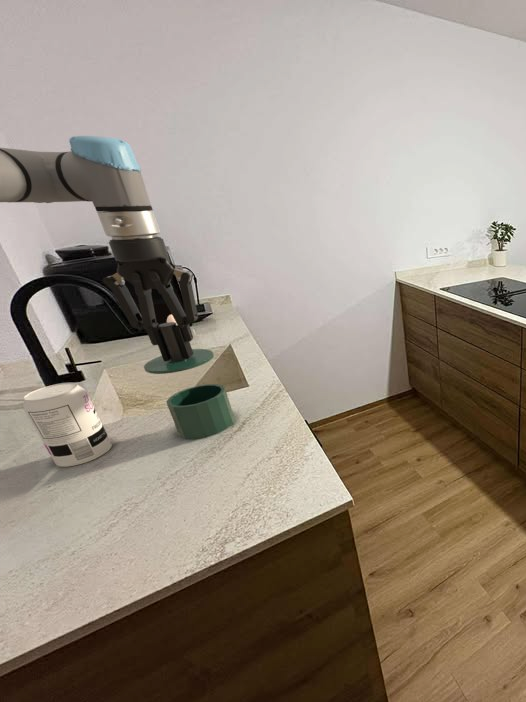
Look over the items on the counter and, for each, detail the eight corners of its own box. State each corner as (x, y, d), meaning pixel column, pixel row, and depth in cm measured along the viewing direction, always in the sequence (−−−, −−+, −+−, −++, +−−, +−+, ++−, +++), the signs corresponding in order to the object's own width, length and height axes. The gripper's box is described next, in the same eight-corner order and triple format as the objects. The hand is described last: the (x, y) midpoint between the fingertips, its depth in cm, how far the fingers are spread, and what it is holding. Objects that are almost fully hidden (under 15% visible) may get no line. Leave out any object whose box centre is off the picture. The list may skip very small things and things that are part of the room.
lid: (135, 380, 70) (116, 337, 67) (159, 358, 80) (144, 319, 77) (205, 371, 74) (191, 329, 70) (220, 351, 84) (209, 313, 80)
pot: (172, 445, 79) (158, 411, 75) (188, 420, 88) (176, 388, 84) (229, 435, 82) (218, 401, 79) (239, 412, 91) (229, 381, 88)
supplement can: (47, 465, 73) (7, 398, 67) (97, 441, 81) (65, 378, 75) (74, 473, 71) (35, 404, 65) (123, 447, 78) (92, 384, 72)
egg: (187, 331, 147) (181, 313, 144) (174, 335, 143) (168, 316, 140) (180, 330, 149) (174, 312, 146) (167, 333, 145) (161, 315, 142)
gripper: (65, 241, 61) (122, 370, 71) (180, 237, 66) (219, 358, 76) (91, 237, 68) (140, 356, 77) (194, 233, 73) (228, 346, 82)
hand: (179, 357), depth 76 cm, fingers closed on lid, 3 cm apart
